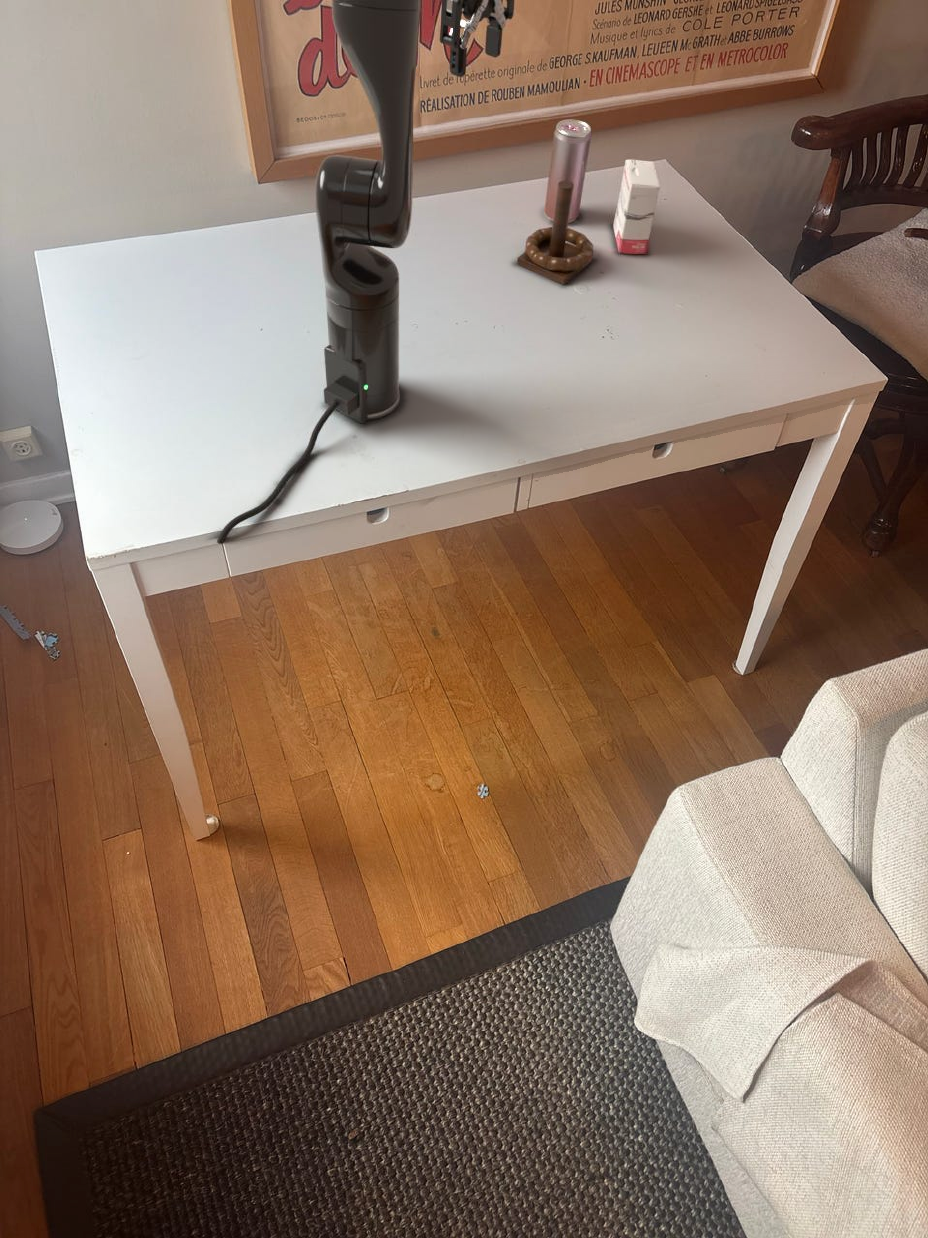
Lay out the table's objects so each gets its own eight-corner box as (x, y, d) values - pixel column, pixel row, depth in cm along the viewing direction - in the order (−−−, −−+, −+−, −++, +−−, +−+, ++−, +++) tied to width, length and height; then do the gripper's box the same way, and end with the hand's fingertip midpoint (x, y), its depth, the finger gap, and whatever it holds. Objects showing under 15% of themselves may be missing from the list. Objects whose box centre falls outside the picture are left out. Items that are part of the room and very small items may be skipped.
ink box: (646, 255, 160) (661, 186, 151) (617, 253, 160) (630, 184, 151) (640, 227, 165) (654, 158, 156) (612, 225, 165) (624, 157, 156)
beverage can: (549, 203, 169) (561, 115, 157) (582, 210, 168) (596, 123, 156) (539, 219, 165) (550, 131, 153) (573, 227, 164) (586, 139, 152)
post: (563, 284, 153) (575, 206, 143) (516, 264, 156) (525, 185, 146) (592, 260, 158) (606, 183, 148) (546, 240, 161) (557, 163, 151)
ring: (569, 281, 152) (571, 270, 150) (511, 256, 156) (513, 244, 154) (604, 252, 158) (606, 241, 156) (548, 228, 161) (550, 217, 160)
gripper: (491, -90, 129) (482, 41, 141) (426, -64, 121) (423, 73, 134) (537, -76, 126) (524, 57, 139) (475, -48, 119) (467, 89, 132)
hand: (475, 64), depth 136 cm, fingers open, 8 cm apart
